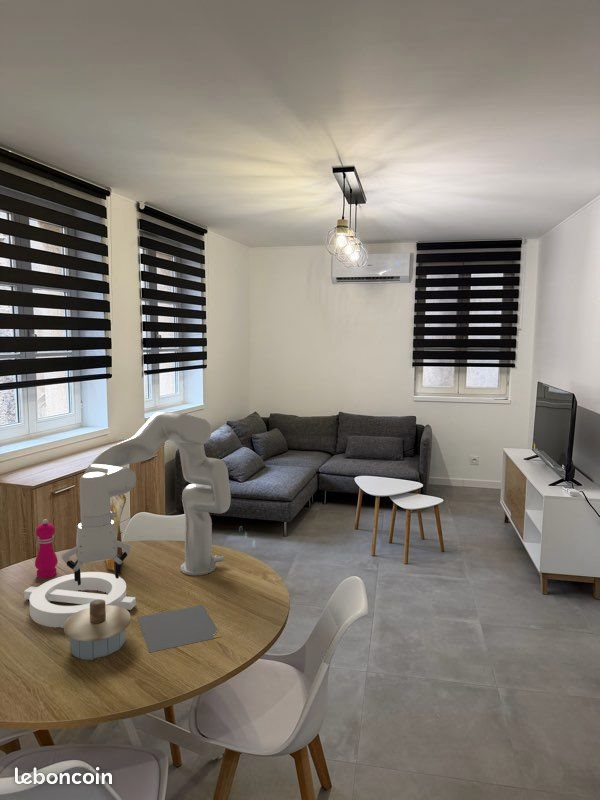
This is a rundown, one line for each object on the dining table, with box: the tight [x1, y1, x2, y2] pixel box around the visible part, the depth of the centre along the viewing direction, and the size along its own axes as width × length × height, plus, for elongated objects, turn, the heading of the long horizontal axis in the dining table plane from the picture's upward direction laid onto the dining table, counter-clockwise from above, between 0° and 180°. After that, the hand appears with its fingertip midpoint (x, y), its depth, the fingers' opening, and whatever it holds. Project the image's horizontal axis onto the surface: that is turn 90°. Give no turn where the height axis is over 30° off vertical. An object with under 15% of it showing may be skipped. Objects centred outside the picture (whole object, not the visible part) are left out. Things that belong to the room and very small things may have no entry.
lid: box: [63, 599, 132, 641], centre depth 150 cm, size 17×17×6 cm
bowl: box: [69, 629, 126, 661], centre depth 150 cm, size 14×14×6 cm
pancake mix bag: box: [105, 494, 127, 572], centre depth 203 cm, size 7×19×28 cm, turn 24°
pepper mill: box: [34, 518, 58, 579], centre depth 192 cm, size 7×7×20 cm
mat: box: [137, 604, 219, 653], centre depth 160 cm, size 20×20×1 cm
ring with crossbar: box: [23, 571, 137, 629], centre depth 173 cm, size 28×28×5 cm
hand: (98, 579), depth 149 cm, fingers open, 9 cm apart
